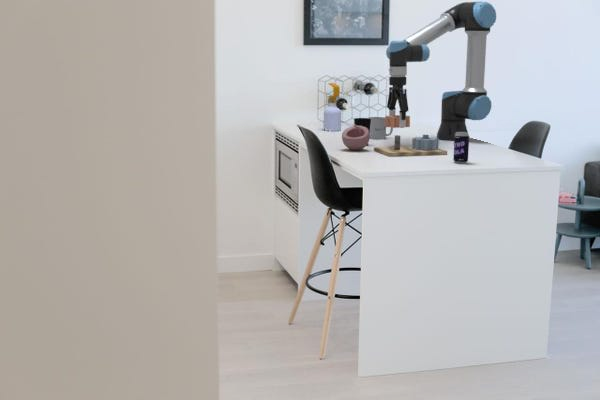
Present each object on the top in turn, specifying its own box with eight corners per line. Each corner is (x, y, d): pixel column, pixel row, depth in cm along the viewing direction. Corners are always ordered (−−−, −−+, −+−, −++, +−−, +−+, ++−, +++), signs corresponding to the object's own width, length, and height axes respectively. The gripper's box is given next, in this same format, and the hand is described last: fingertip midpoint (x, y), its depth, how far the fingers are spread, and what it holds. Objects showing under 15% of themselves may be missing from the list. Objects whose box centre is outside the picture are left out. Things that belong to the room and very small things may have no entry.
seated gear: (424, 146, 372) (424, 136, 371) (443, 149, 364) (444, 138, 363) (406, 148, 365) (407, 138, 364) (425, 151, 357) (426, 140, 356)
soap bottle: (332, 129, 451) (332, 82, 447) (344, 130, 445) (345, 83, 440) (319, 130, 445) (320, 83, 441) (332, 131, 439) (332, 83, 434)
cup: (369, 146, 382) (369, 119, 380) (352, 145, 384) (352, 119, 382) (371, 144, 390) (371, 118, 388) (354, 143, 391) (355, 117, 389)
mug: (369, 139, 408) (370, 118, 406) (366, 137, 416) (367, 117, 414) (394, 139, 409) (395, 118, 407) (391, 137, 417) (391, 117, 416)
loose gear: (404, 124, 385) (404, 114, 384) (414, 127, 375) (414, 117, 374) (381, 125, 382) (381, 115, 381) (390, 128, 372) (390, 118, 371)
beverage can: (451, 161, 338) (453, 131, 336) (465, 161, 339) (467, 131, 337) (455, 163, 333) (456, 133, 330) (469, 163, 333) (471, 133, 331)
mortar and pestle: (337, 151, 366) (338, 124, 364) (346, 147, 377) (347, 122, 375) (364, 152, 362) (365, 125, 359) (372, 149, 373) (373, 123, 370)
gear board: (428, 149, 375) (429, 132, 373) (447, 154, 358) (447, 137, 356) (373, 150, 367) (374, 133, 366) (389, 156, 351) (390, 138, 349)
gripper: (379, 75, 384) (379, 123, 388) (400, 77, 362) (399, 129, 366) (395, 74, 386) (394, 122, 390) (416, 77, 364) (415, 128, 368)
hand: (397, 125), depth 378 cm, fingers closed on loose gear, 11 cm apart
